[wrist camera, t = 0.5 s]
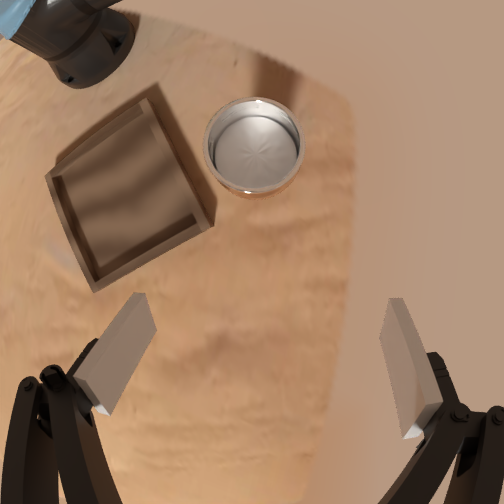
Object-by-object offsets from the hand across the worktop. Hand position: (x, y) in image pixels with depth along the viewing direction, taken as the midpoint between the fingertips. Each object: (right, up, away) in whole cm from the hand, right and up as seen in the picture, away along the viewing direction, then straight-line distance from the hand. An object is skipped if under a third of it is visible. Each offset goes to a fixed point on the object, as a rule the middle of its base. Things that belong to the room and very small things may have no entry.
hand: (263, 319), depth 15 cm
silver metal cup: (0, +12, +18) cm, 21 cm away
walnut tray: (-19, +11, +23) cm, 32 cm away
